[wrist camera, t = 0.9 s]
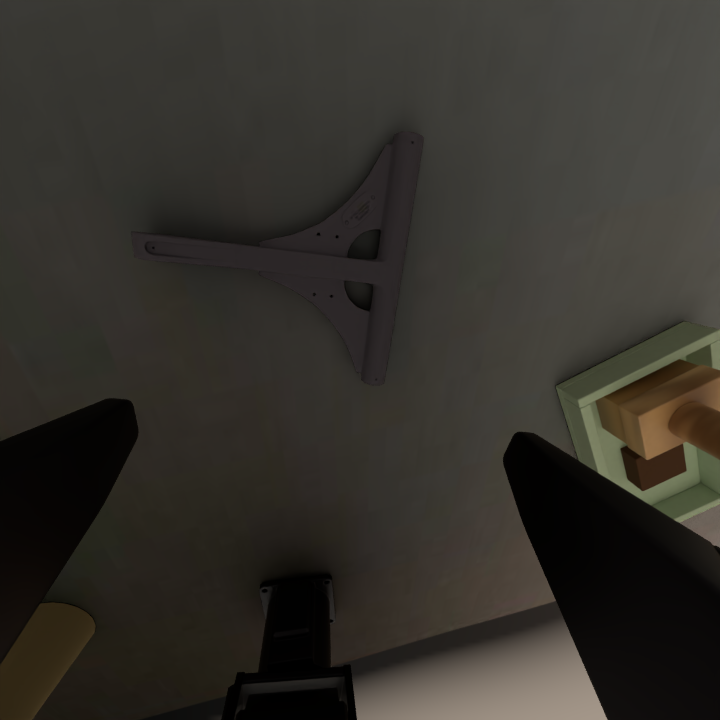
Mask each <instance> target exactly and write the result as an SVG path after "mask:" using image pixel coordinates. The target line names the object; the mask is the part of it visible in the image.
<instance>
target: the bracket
mask: <svg viewBox="0 0 720 720" xmlns="http://www.w3.org/2000/svg"><path fill="white" fill-rule="evenodd" d="M423 142H424V137H423V136H421V135H420V134H417V133H413V132H399V133H396V134H394V139H393V144H386V146H385V147H384V149H383V151H382V152H381V154H380V156H379V158H378V160H377V162H376V163H375V165H374V167H373V168H372V170H371V172H370V173H369V175H368V176H367V178H366V179H365V181H364V182H363V184H362V185H361V186H360V187H359V189H358V190H357V191H356V192H355V194H354V195H353V196H352V197H351V198H350V199H349V200H348V201H347V202H346V203H345V204H344V205H343V206H342V207H340V208H339V209H338V210H337V211H336V212H334V213H333V214H332V215H331V216H329V217H328V218H327V219H325V220H324V221H323V222H321V223H319V224H317V225H315V226H312V227H310V228H308V229H305V230H303V231H301V232H298V233H295V234H292V235H289V236H284V237H280V238H275V239H269V240H264V241H260V242H259V246H252V245H244V244H236V243H228V242H220V241H212V240H204V239H196V238H188V237H180V236H172V235H164V234H155V233H145V232H131V234H132V243H133V252H134V257H135V258H138V259H143V260H151V261H161V262H174V263H185V264H196V265H207V266H218V267H229V268H240V269H249V270H259V275H260V276H262V277H265V278H267V279H270V280H272V281H275V282H277V283H279V284H282V285H284V286H286V287H288V288H290V289H291V290H293V291H295V292H297V293H298V294H300V295H301V296H303V297H304V298H306V299H307V300H309V301H310V302H312V303H313V304H314V305H316V306H317V307H318V308H319V309H320V310H321V311H322V313H323V314H324V315H325V316H326V317H327V318H328V319H329V320H330V321H331V323H332V324H333V325H334V326H335V328H336V329H337V331H338V332H339V334H340V335H341V337H342V338H343V340H344V342H345V344H346V346H347V348H348V350H349V352H350V355H351V357H352V360H353V363H354V366H355V369H356V371H357V373H361V374H362V375H361V380H362V381H363V382H364V383H367V384H370V385H382V384H384V381H385V375H386V369H387V363H388V357H389V351H390V345H391V339H392V332H393V326H394V320H395V314H396V308H397V302H398V295H399V289H400V283H401V277H402V271H403V265H404V259H405V252H406V246H407V240H408V234H409V228H410V222H411V216H412V209H413V203H414V197H415V191H416V185H417V179H418V172H419V166H420V160H421V154H422V148H423ZM374 229H379V230H381V235H380V243H379V250H378V255H377V258H376V259H370V260H369V259H356V258H348V257H347V253H348V250H349V247H350V246H351V244H352V242H353V241H354V240H355V239H356V238H357V237H358V236H359V235H360V234H362V233H364V232H366V231H369V230H374ZM317 233H320V236H318V235H317ZM336 235H338V238H335V236H336ZM345 280H347V281H355V282H363V283H369V284H372V285H373V295H372V302H371V309H370V311H368V310H364V309H362V308H359V307H357V306H356V305H354V304H353V303H352V302H351V301H350V299H349V298H348V296H347V294H346V291H345V287H344V282H345ZM313 293H315V294H316V295H313ZM330 295H333V296H332V297H330Z"/></svg>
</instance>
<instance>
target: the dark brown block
mask: <svg viewBox="0 0 720 720" xmlns="http://www.w3.org/2000/svg"><path fill="white" fill-rule="evenodd" d="M620 450H621V454H622V458H623V462H624V467H625V471H626V475H627V479H628V480H629V481H630V482H631V483H632V484H634V485H635V486H636V487H637V488H639V489H640V490H641V491H645V490H647V489H650V488H652V487H654V486H656V485H658V484H660V483H662V482H665V481H667V480H669V479H671V478H673V477H675V476H677V475H680V474H682V473H684V472H686V471H687V469H686V461H685V454H684V447H683V444H681V445H679V446H676V447H674V448H672V449H670V450H668V451H666V452H664V453H662V454H660V455H657V456H655V457H653V458H651V459H649V460H646V459H645V458H643V457H642V456H640V455H639V454H637V453H636V452H634V451H633V450H631V449H630V448H628V446H625V447H623V448H621V449H620Z"/></svg>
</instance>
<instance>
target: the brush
mask: <svg viewBox="0 0 720 720" xmlns="http://www.w3.org/2000/svg"><path fill="white" fill-rule="evenodd" d="M596 405H597V409H598V413H599V417H600V421H601V424H602V428H603V429H605V430H606V431H608V432H609V433H611V434H612V435H614V436H615V437H617V438H618V439H620V440H621V441H623V442H624V443H626V444H627V446H628V448H630V449H631V450H633V451H634V452H636V453H637V454H639V455H640V456H642V457H643V458H645V459H646V460H649V459H651V458H653V457H655V456H657V455H660V454H662V453H664V452H666V451H668V450H670V449H672V448H674V447H676V446H679V445H681V444H683V443H685V442H688V443H690V444H692V445H693V446H695V447H697V448H699V449H701V450H702V451H704V452H706V453H708V454H710V455H711V456H713V457H715V458H717V459H719V460H720V370H717V369H714V368H711V367H708V366H705V365H700V366H699V365H696V364H693V363H690V362H687V361H684V360H681V359H678V360H676V361H674V362H672V363H670V364H668V365H666V366H664V367H662V368H660V369H658V370H656V371H654V372H652V373H650V374H648V375H646V376H644V377H642V378H640V379H638V380H636V381H634V382H632V383H630V384H628V385H626V386H624V387H622V388H620V389H618V390H616V391H614V392H612V393H610V394H608V395H606V396H604V397H602V398H600V399H598V400H596Z"/></svg>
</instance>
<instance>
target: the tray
mask: <svg viewBox="0 0 720 720" xmlns="http://www.w3.org/2000/svg"><path fill="white" fill-rule="evenodd" d="M678 359H681V360H684V361H687V362H690V363H693V364H696V365H699V366H700V365H705V366H708V367H711V368H714V369H717V370H720V329H716V328H712V327H707V326H703V325H698V324H692V323H690V322H685V321H684V322H682V323H680V324H678V325H676V326H674V327H672V328H670V329H668V330H666V331H664V332H662V333H660V334H658V335H656V336H654V337H652V338H650V339H648V340H646V341H644V342H642V343H640V344H638V345H636V346H634V347H632V348H630V349H628V350H626V351H624V352H622V353H620V354H618V355H616V356H614V357H612V358H610V359H608V360H606V361H604V362H602V363H600V364H598V365H596V366H594V367H592V368H590V369H589V370H587V371H585V372H583V373H581V374H579V375H577V376H575V377H573V378H571V379H569V380H567V381H565V382H563V383H561V384H559V385H557V386H556V389H557V393H558V396H559V399H560V402H561V406H562V409H563V412H564V415H565V418H566V422H567V425H568V428H569V431H570V434H571V438H572V441H573V444H574V447H575V450H576V454H577V457H578V460H579V461H580V462H581V463H583V464H585V465H586V466H588V467H590V468H591V469H593V470H594V471H596V472H598V473H599V474H601V475H602V476H604V477H606V478H607V479H609V480H611V481H612V482H614V483H615V484H617V485H619V486H620V487H622V488H624V489H625V490H627V491H628V492H630V493H632V494H633V495H635V496H636V497H638V498H640V499H641V500H643V501H645V502H646V503H648V504H649V505H651V506H653V507H654V508H656V509H657V510H659V511H661V512H662V513H664V514H666V515H667V516H669V517H670V518H672V519H674V520H675V521H677V522H682V521H684V520H686V519H688V518H690V517H693V516H695V515H697V514H699V513H701V512H704V511H706V510H708V509H710V508H712V507H715V506H717V505H719V504H720V460H719V459H717V458H715V457H713V456H711V455H710V454H708V453H706V452H704V451H702V450H701V449H699V448H697V447H695V446H693V445H692V444H690V443H688V442H685V443H683V447H684V454H685V461H686V469H687V471H686V472H684V473H682V474H680V475H677V476H675V477H673V478H671V479H669V480H667V481H665V482H662V483H660V484H658V485H656V486H654V487H652V488H650V489H647V490H645V491H641V490H640V489H639V488H637V487H636V486H635V485H634V484H632V483H631V482H630V481H629V480H628V479H627V475H626V471H625V467H624V462H623V458H622V454H621V450H620V449H621V448H623V447H625V446H627V444H626V443H624V442H623V441H621V440H620V439H618V438H617V437H615V436H614V435H612V434H611V433H609V432H608V431H606V430H605V429H603V428H602V424H601V421H600V417H599V413H598V409H597V405H596V400H598V399H600V398H602V397H604V396H606V395H608V394H610V393H612V392H614V391H616V390H618V389H620V388H622V387H624V386H626V385H628V384H630V383H632V382H634V381H636V380H638V379H640V378H642V377H644V376H646V375H648V374H650V373H652V372H654V371H656V370H658V369H660V368H662V367H664V366H666V365H668V364H670V363H672V362H674V361H676V360H678Z"/></svg>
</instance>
